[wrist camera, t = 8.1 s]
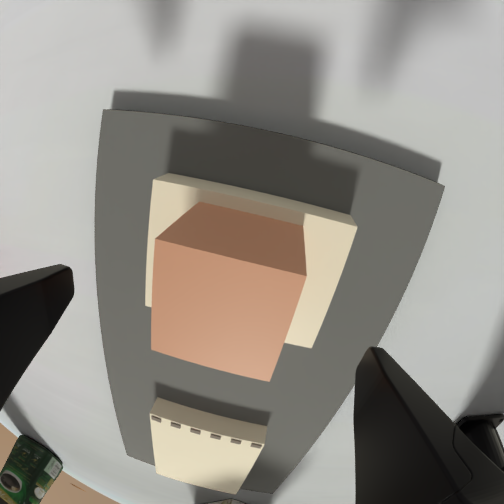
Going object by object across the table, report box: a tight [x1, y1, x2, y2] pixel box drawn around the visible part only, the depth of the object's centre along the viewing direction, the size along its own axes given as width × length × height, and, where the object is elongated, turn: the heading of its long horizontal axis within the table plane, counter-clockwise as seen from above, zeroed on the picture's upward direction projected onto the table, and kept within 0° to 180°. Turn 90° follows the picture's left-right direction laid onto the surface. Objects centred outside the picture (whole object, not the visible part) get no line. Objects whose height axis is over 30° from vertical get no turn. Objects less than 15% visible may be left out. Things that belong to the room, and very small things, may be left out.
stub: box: [145, 173, 357, 382], centre depth 11 cm, size 8×6×6 cm
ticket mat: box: [95, 110, 445, 495], centre depth 18 cm, size 16×32×2 cm, turn 169°
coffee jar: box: [0, 435, 63, 504], centre depth 27 cm, size 10×8×19 cm
